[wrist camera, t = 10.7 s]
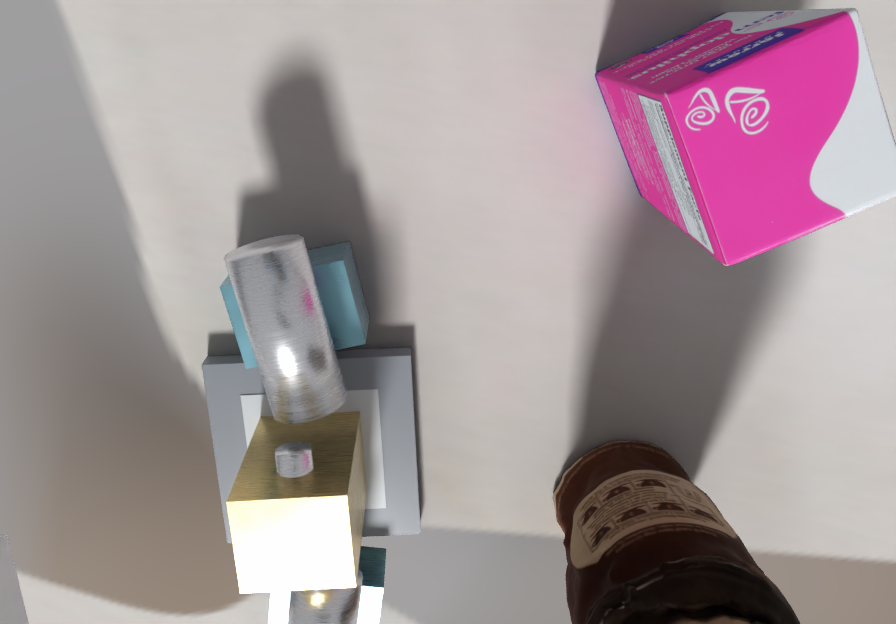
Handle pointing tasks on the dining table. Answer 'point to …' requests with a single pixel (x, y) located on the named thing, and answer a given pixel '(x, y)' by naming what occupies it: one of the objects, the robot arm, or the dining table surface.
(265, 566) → the block
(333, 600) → the shaft
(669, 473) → the coffee cup
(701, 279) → the dining table surface
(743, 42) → the supplement box
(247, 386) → the cradle
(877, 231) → the dining table surface
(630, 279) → the dining table surface
